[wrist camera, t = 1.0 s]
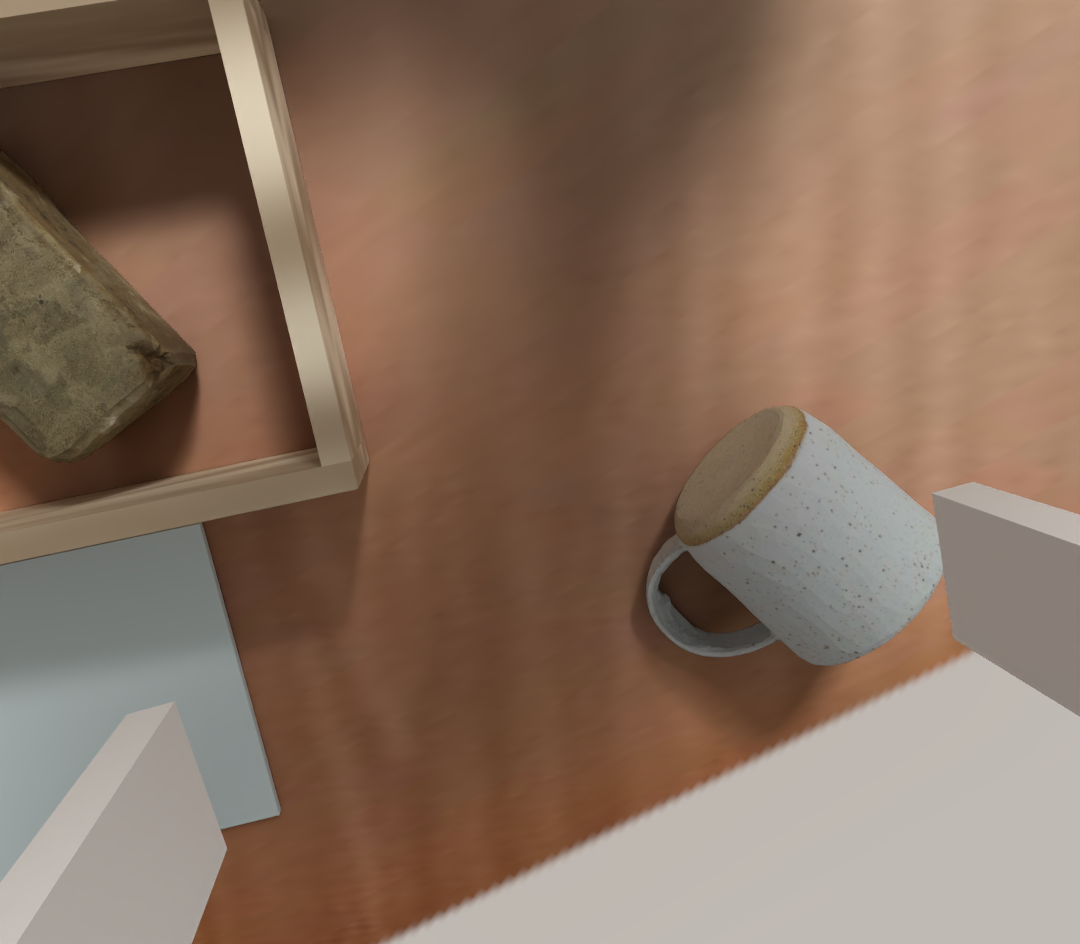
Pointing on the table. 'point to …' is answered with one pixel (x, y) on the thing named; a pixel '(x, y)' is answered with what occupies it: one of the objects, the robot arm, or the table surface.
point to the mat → (120, 674)
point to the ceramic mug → (799, 543)
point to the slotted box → (252, 72)
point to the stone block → (72, 332)
